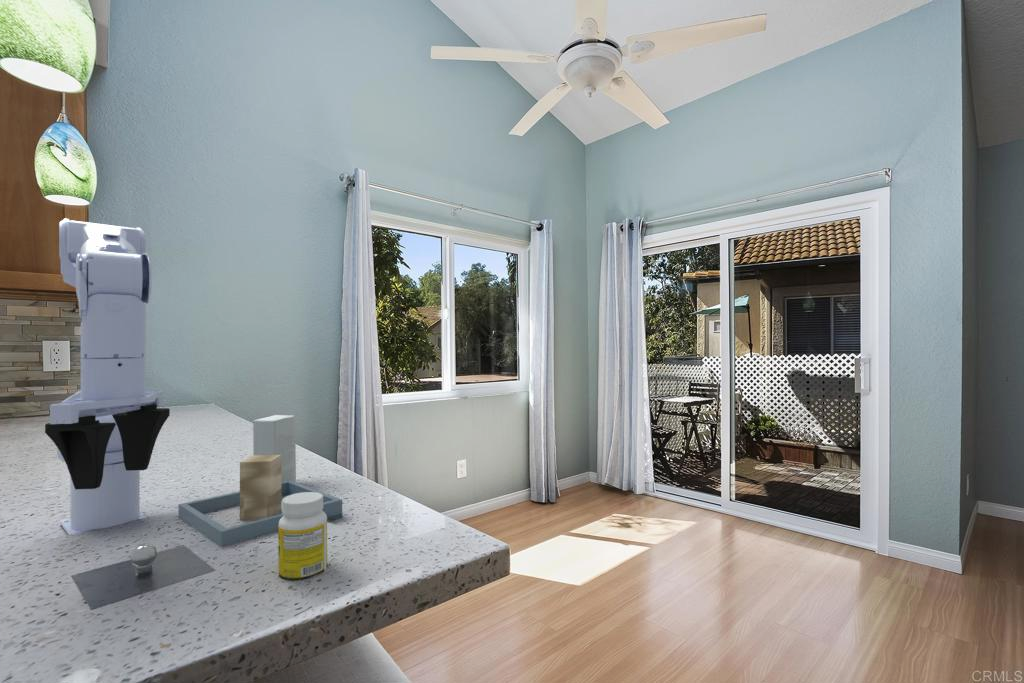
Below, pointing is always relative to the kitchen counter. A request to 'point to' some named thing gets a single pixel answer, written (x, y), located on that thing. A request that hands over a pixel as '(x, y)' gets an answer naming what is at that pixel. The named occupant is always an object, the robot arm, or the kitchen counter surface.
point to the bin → (226, 536)
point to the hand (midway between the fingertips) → (113, 478)
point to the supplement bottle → (302, 537)
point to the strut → (260, 487)
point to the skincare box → (277, 442)
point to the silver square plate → (139, 574)
